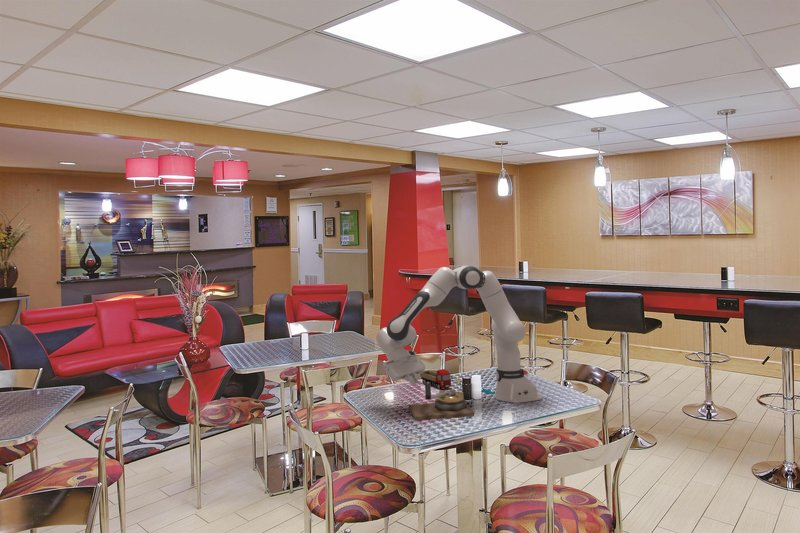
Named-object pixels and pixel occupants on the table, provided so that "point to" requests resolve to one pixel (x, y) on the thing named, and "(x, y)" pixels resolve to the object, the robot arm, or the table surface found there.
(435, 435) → the table surface
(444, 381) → the toy truck
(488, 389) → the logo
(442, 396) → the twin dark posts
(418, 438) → the table surface
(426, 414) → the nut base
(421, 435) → the table surface
